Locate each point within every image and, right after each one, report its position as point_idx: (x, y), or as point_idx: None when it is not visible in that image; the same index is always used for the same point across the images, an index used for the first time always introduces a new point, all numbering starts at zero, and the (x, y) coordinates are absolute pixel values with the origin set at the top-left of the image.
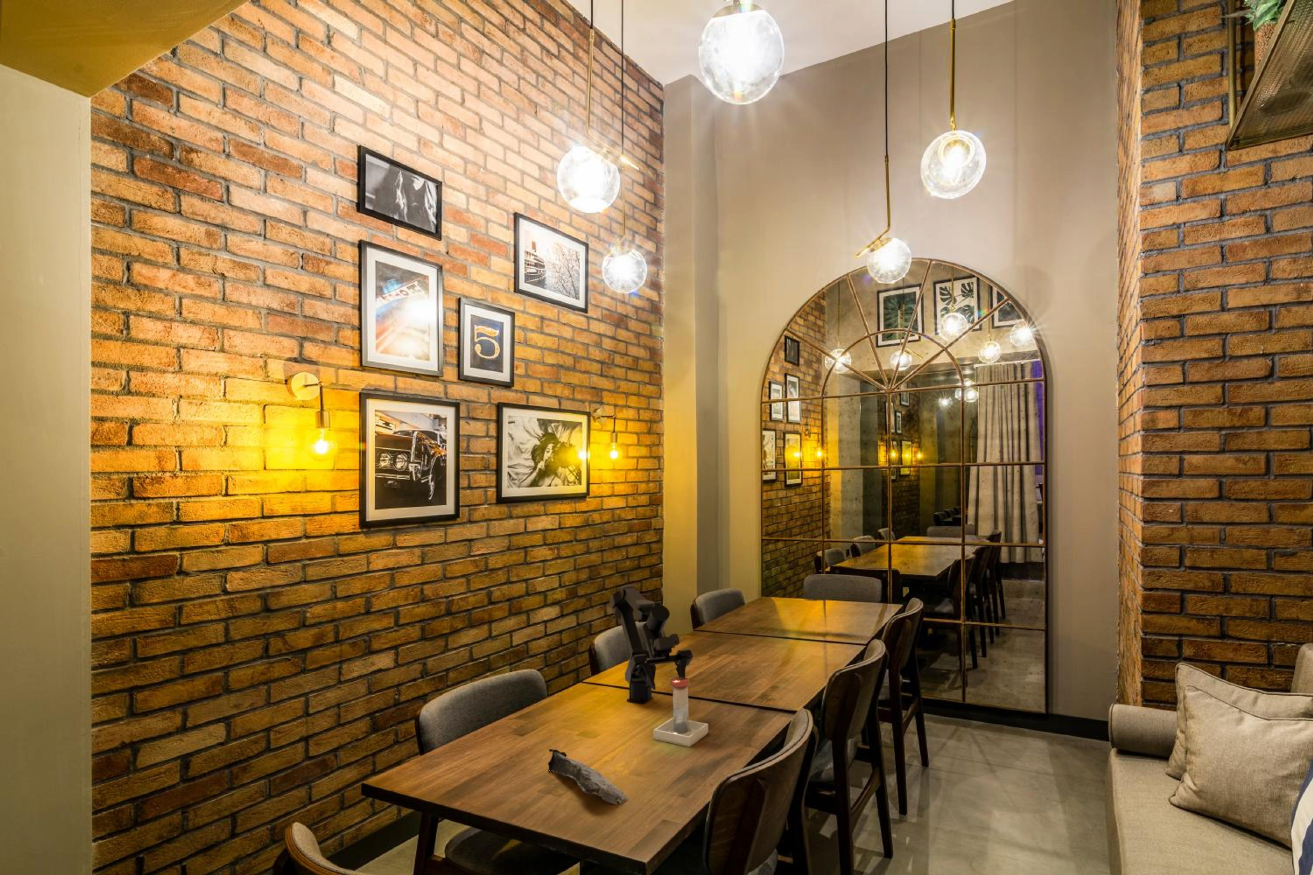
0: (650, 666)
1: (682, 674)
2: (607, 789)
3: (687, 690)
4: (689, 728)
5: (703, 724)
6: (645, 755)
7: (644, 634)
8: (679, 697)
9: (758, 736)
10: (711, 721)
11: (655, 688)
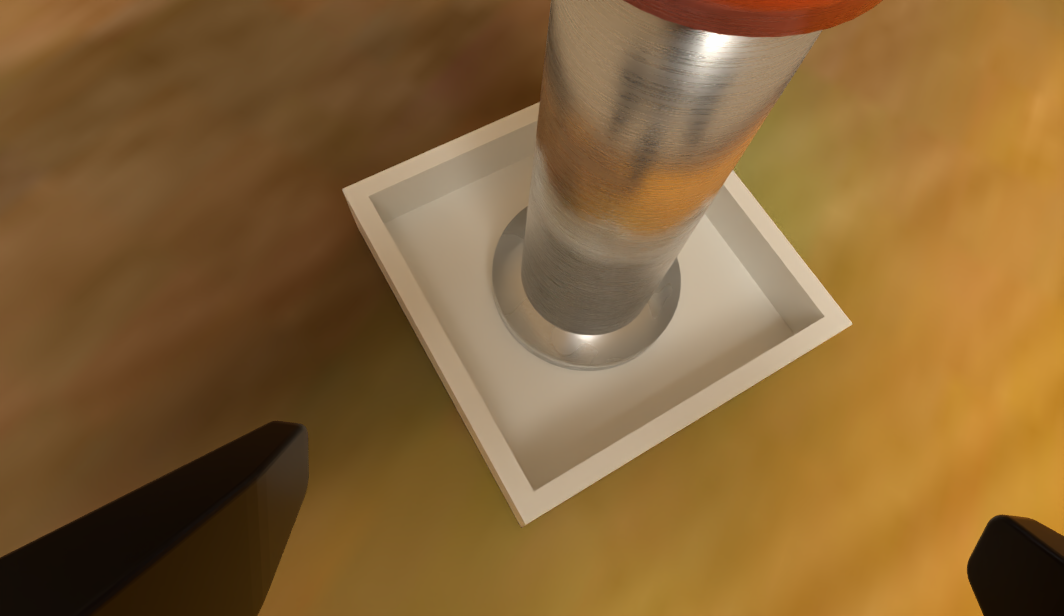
0: None
1: (155, 544)
2: None
3: None
4: (495, 277)
5: (377, 213)
6: (954, 144)
7: None
8: None
9: (104, 6)
10: (140, 430)
11: (997, 515)
